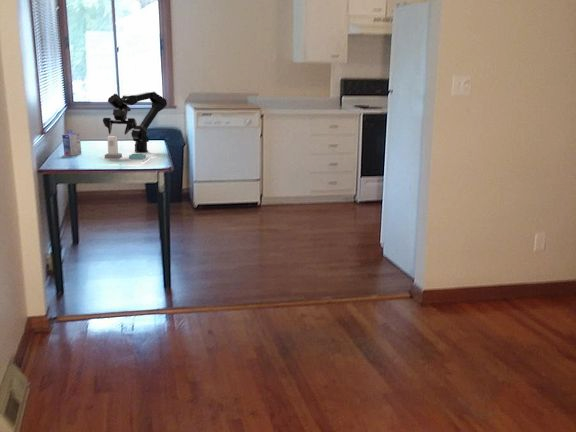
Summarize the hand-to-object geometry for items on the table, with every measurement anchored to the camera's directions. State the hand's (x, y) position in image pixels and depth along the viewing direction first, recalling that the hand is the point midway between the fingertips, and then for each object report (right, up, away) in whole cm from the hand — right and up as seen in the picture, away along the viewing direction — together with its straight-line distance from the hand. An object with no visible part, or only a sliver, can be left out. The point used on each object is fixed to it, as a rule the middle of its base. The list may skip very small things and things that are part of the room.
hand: (117, 133), depth 356 cm
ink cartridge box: (-29, -11, +9) cm, 32 cm away
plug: (-1, -14, -6) cm, 15 cm away
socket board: (+6, -15, -6) cm, 18 cm away
